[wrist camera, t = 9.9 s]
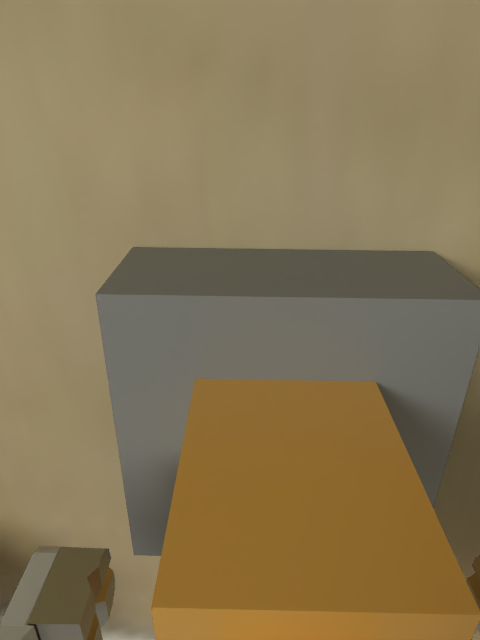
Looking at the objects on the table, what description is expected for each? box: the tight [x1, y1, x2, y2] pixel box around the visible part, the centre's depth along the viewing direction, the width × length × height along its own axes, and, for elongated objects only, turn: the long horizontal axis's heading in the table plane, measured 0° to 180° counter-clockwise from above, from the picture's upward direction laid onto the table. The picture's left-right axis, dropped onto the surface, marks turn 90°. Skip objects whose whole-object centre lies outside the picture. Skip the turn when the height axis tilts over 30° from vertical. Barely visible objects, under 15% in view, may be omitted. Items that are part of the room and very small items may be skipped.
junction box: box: [96, 247, 480, 556], centre depth 13 cm, size 10×10×8 cm
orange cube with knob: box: [151, 379, 480, 640], centre depth 10 cm, size 5×5×7 cm
